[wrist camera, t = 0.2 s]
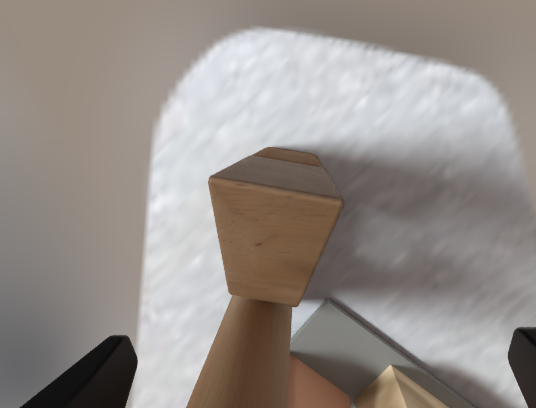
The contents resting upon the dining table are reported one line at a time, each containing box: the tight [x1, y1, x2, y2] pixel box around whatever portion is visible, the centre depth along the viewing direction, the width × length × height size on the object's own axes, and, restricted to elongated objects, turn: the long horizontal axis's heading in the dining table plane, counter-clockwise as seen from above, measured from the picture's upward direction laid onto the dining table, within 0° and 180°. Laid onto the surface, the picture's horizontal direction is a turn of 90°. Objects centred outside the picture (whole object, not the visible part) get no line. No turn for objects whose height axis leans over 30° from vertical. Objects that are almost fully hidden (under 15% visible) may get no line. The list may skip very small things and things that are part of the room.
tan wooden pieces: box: [186, 147, 344, 408], centre depth 15 cm, size 4×11×18 cm, turn 171°
